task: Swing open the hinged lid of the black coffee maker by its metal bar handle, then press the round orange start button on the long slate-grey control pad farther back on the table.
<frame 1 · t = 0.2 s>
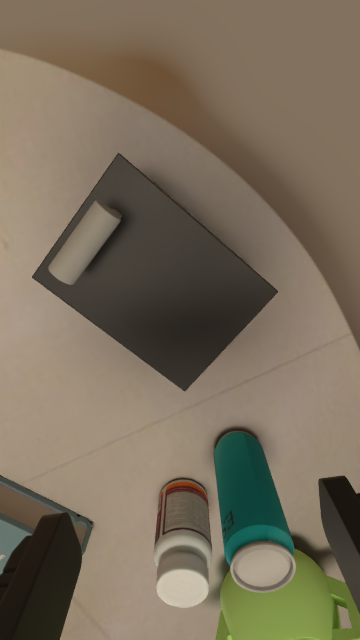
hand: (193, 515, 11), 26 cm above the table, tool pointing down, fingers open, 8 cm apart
beverage can: (236, 445, 42), on the table
maker lid: (152, 289, 23), point 12 cm above the table, hinge at 0.0°
pill bottle: (183, 495, 44), on the table
teapot: (269, 568, 47), on the table
book: (3, 548, 47), on the table
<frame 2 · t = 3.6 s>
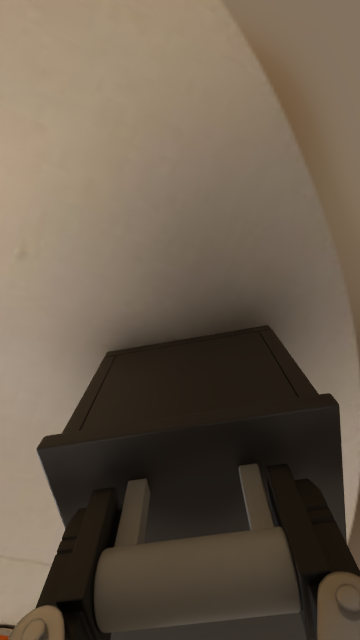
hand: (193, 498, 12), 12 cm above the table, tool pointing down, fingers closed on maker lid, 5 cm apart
maker lid: (218, 630, 12), point 12 cm above the table, hinge at 0.0°, touching gripper
coffee maker: (203, 428, 24), on the table
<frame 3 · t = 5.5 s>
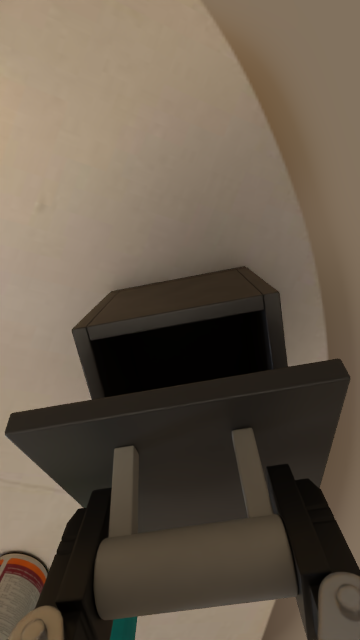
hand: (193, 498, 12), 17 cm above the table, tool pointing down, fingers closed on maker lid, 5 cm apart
beverage can: (115, 558, 35), on the table
maker lid: (207, 541, 14), point 16 cm above the table, hinge at 27.7°, touching gripper
coffee maker: (192, 359, 28), on the table
pill bottle: (21, 571, 35), on the table
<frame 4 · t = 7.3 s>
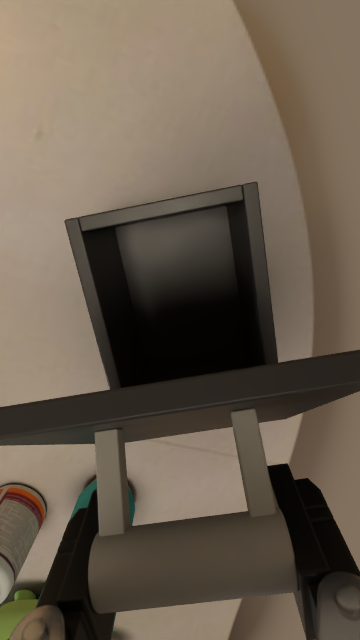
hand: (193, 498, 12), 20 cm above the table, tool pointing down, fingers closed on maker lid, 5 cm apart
beverage can: (110, 491, 36), on the table
maker lid: (197, 471, 14), point 17 cm above the table, hinge at 53.7°, touching gripper
coffee maker: (183, 288, 30), on the table
pill bottle: (20, 504, 37), on the table
teapot: (48, 617, 42), on the table
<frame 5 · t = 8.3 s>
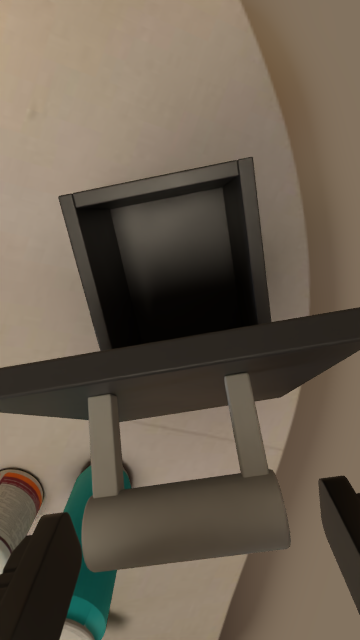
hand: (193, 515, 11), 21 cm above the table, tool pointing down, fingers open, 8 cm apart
beverage can: (107, 476, 36), on the table
maker lid: (192, 444, 14), point 17 cm above the table, hinge at 54.2°
coffee maker: (179, 271, 30), on the table
pill bottle: (17, 488, 37), on the table
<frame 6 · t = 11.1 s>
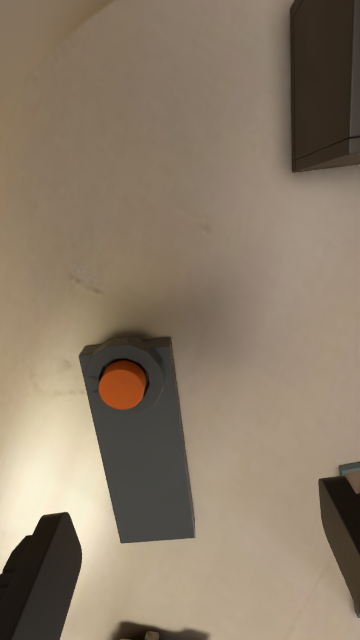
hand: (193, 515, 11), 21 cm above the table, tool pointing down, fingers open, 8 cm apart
control pad: (144, 440, 35), on the table
start button: (122, 384, 28), point 5 cm above the table, slide at 0.2 cm
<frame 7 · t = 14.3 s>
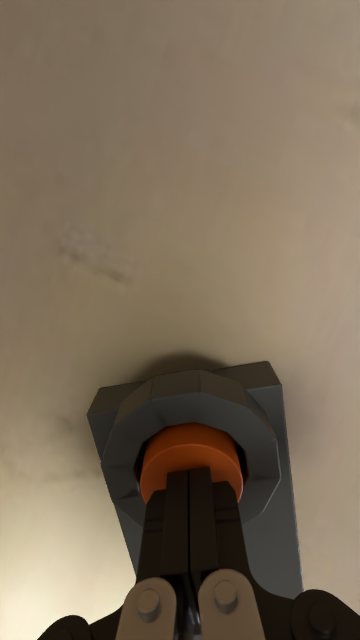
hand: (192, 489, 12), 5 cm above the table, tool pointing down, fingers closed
control pad: (217, 550, 19), on the table
start button: (191, 469, 13), point 4 cm above the table, slide at -0.5 cm, touching gripper
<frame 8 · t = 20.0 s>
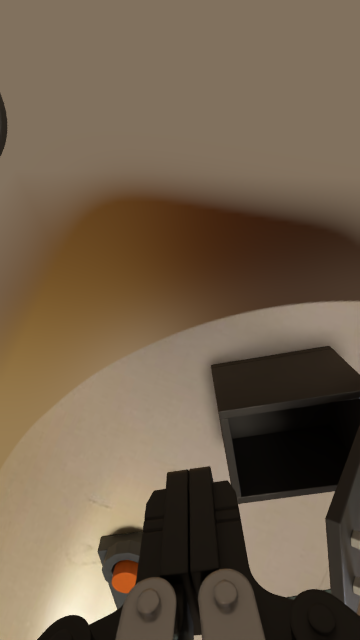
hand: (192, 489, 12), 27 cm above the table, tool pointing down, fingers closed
control pad: (145, 589, 51), on the table
start button: (126, 576, 44), point 5 cm above the table, slide at 0.2 cm
coffee maker: (274, 395, 41), on the table
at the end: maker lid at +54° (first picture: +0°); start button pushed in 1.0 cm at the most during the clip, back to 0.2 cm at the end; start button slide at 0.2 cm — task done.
